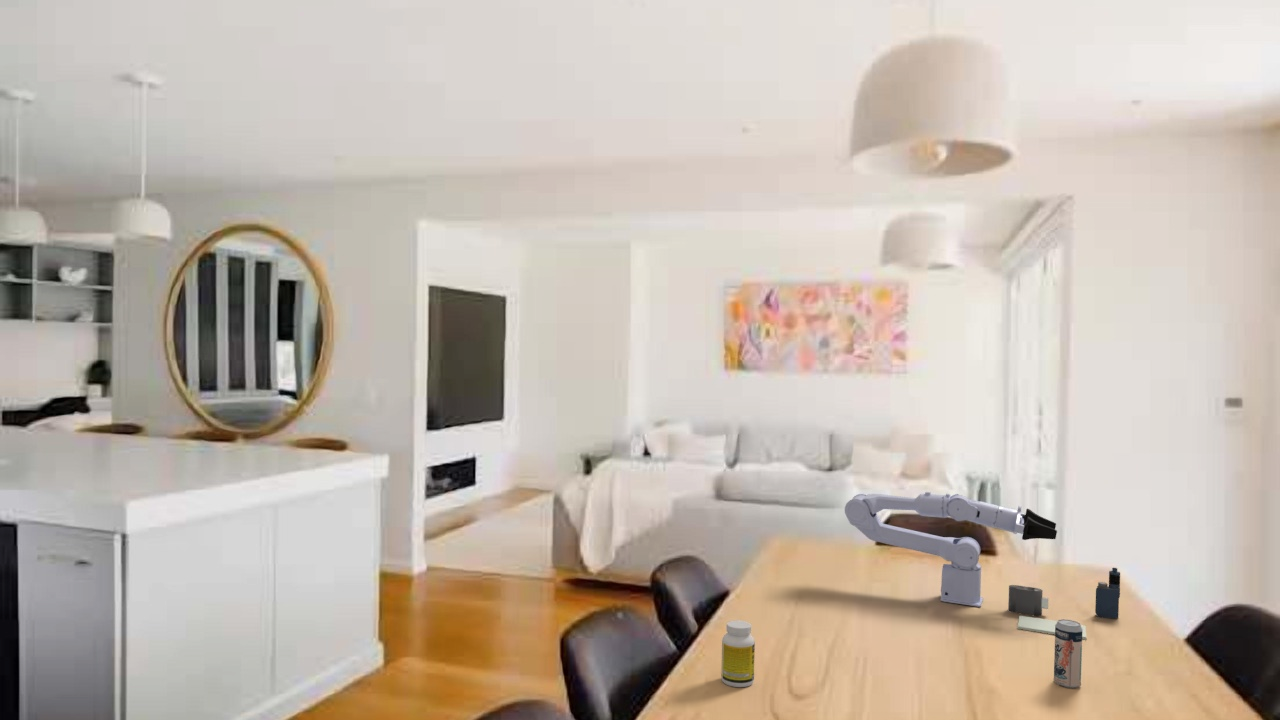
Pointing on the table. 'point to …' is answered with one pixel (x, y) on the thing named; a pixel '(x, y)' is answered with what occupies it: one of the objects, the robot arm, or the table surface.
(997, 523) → the robot arm
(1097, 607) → the vaping device
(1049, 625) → the board
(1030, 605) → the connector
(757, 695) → the table surface
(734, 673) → the pill bottle
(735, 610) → the table surface
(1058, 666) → the beer can
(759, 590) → the table surface
